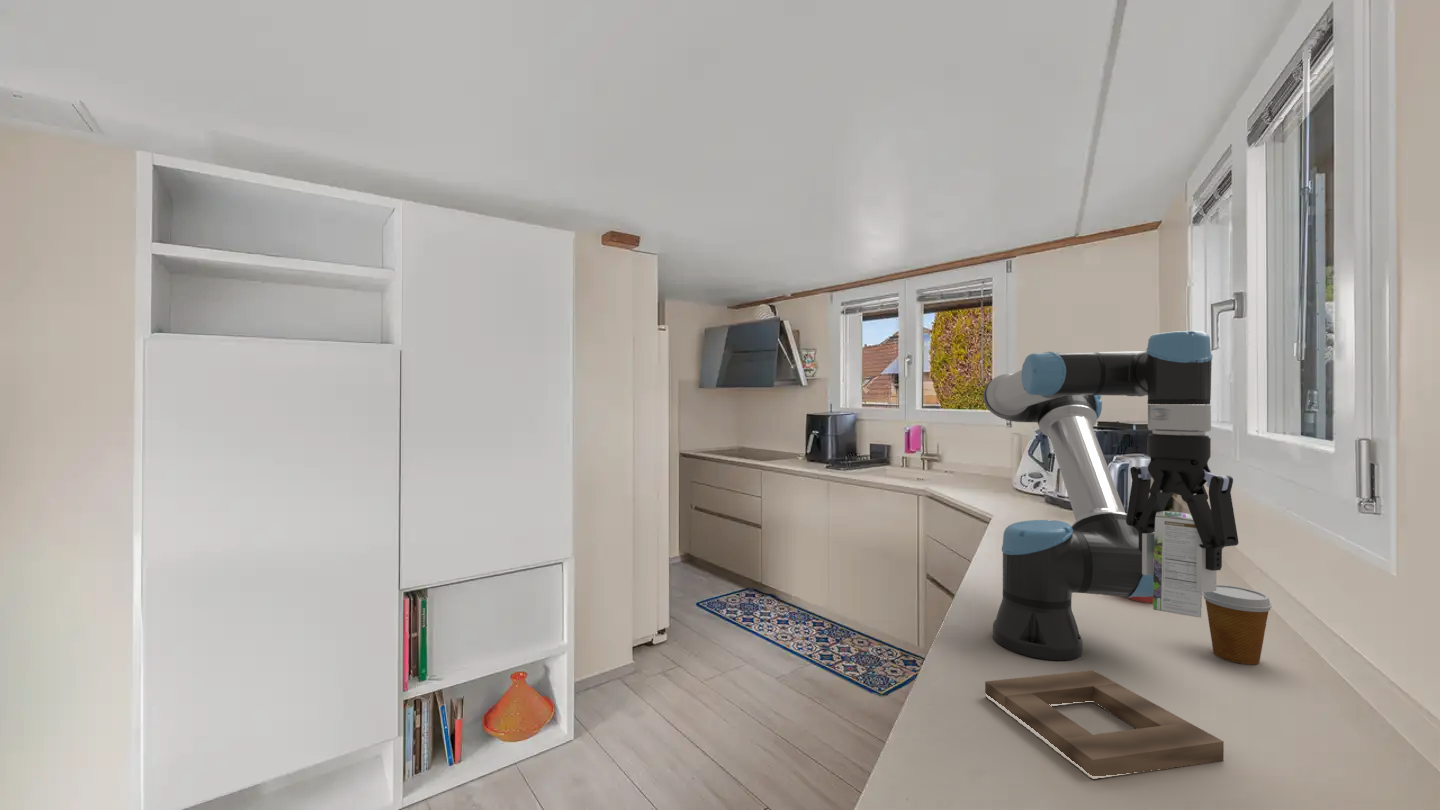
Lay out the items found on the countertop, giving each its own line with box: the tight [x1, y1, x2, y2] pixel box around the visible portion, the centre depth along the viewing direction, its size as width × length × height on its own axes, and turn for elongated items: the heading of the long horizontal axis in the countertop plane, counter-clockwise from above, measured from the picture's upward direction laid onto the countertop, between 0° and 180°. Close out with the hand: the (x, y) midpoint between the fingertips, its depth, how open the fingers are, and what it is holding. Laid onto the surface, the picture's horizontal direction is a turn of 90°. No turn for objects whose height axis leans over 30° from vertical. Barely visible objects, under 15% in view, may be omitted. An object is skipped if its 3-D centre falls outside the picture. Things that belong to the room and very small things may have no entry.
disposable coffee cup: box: [1202, 584, 1273, 666], centre depth 104 cm, size 10×10×12 cm
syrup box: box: [1152, 510, 1203, 619], centre depth 86 cm, size 6×6×14 cm
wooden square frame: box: [984, 669, 1225, 776], centre depth 81 cm, size 20×20×2 cm
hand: (1177, 581), depth 86 cm, fingers closed on syrup box, 8 cm apart
